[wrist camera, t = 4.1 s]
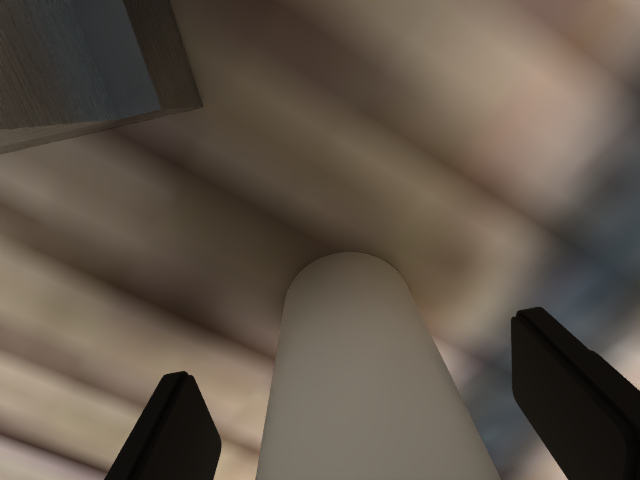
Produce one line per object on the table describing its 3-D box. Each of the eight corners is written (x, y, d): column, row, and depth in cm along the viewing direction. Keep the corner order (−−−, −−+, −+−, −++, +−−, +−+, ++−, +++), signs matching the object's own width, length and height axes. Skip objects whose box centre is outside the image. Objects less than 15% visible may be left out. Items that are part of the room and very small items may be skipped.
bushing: (402, 240, 12) (535, 457, 5) (417, 349, 14) (531, 633, 7) (269, 265, 13) (200, 507, 5) (300, 369, 14) (281, 662, 7)
